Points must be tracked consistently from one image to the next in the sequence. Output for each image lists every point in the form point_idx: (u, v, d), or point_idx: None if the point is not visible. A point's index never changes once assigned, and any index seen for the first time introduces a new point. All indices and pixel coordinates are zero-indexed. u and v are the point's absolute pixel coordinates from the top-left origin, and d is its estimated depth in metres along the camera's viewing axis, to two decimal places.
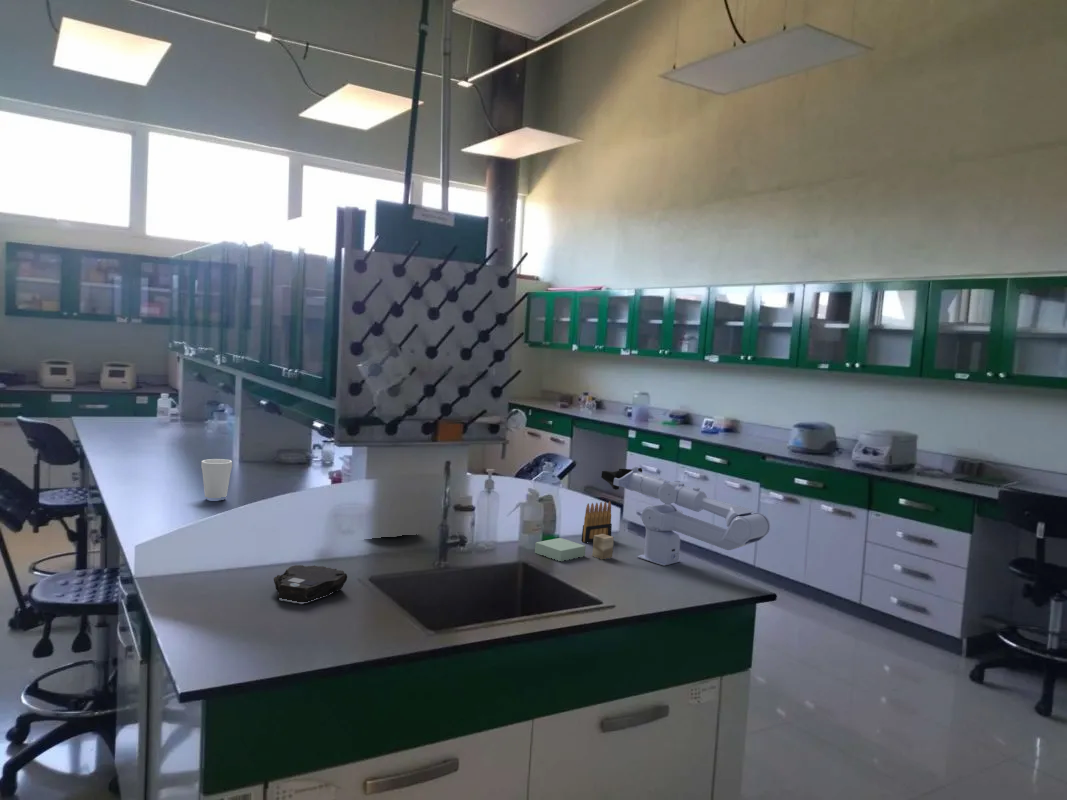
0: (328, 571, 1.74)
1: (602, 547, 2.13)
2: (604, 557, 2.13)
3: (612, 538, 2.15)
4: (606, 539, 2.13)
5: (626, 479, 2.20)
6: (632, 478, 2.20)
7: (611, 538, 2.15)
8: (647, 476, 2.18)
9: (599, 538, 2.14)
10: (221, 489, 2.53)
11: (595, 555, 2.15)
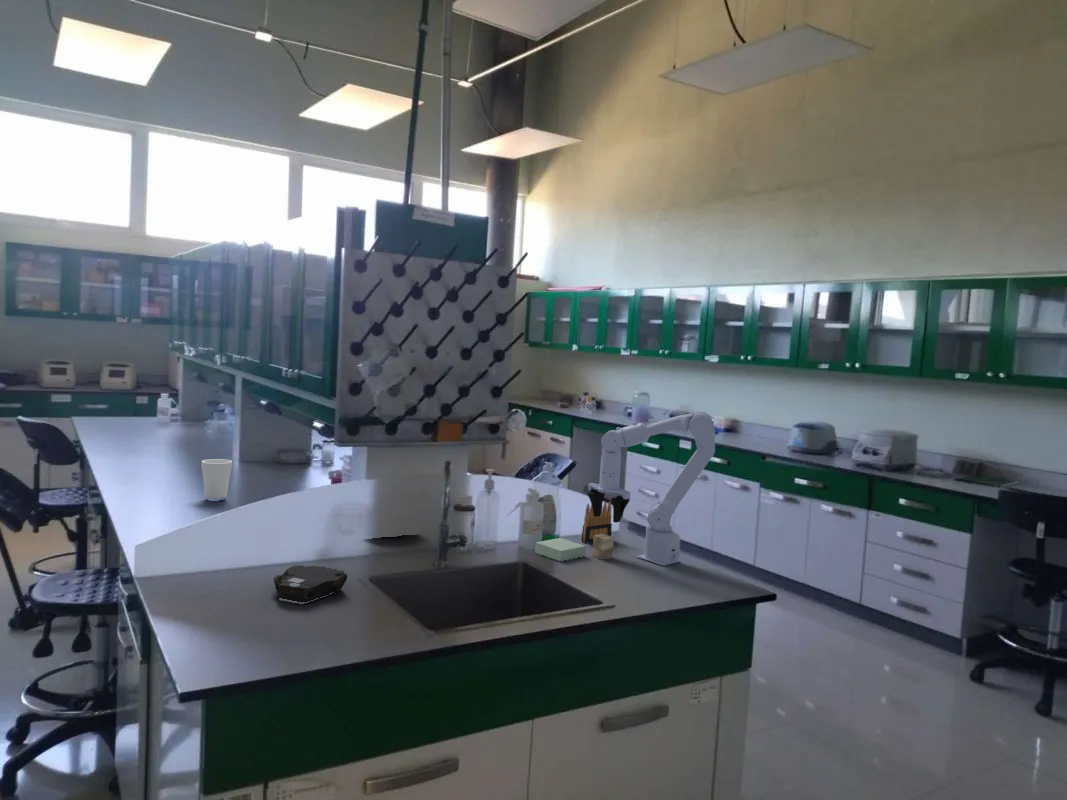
0: (328, 571, 1.74)
1: (602, 547, 2.13)
2: (604, 557, 2.13)
3: (612, 538, 2.15)
4: (606, 539, 2.13)
5: (616, 491, 2.16)
6: (613, 486, 2.16)
7: (611, 538, 2.15)
8: (600, 469, 2.18)
9: (599, 538, 2.14)
10: (221, 489, 2.53)
11: (595, 555, 2.15)
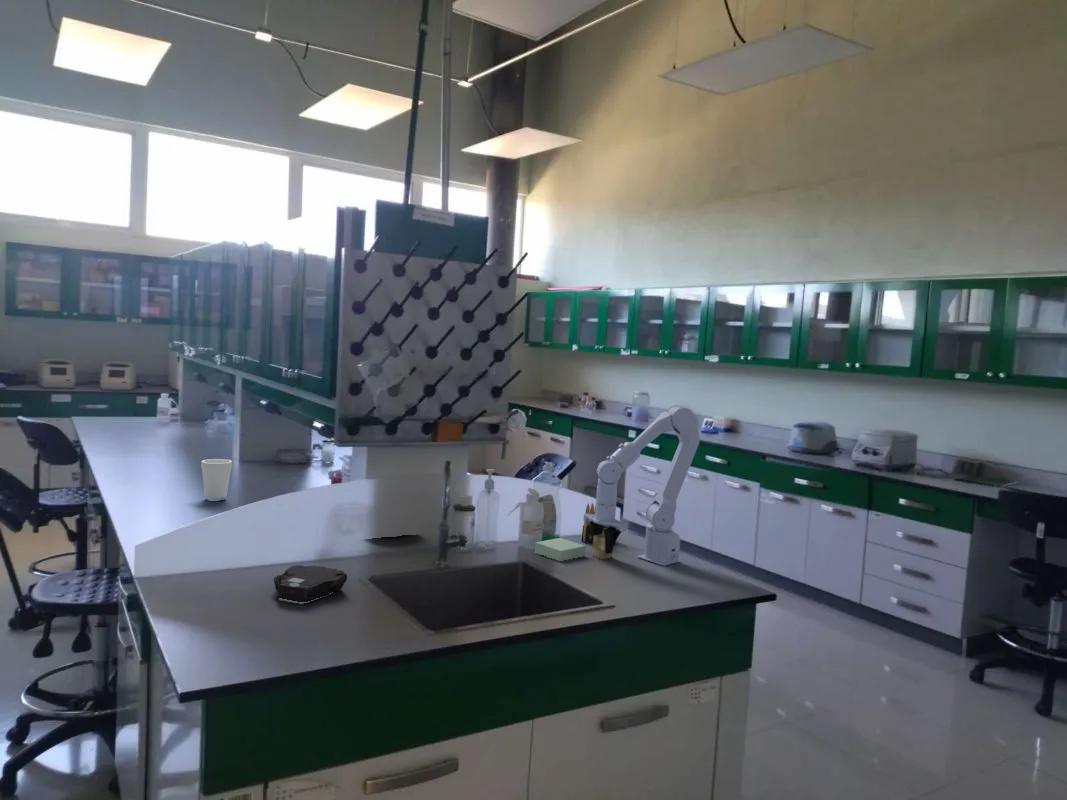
0: (328, 571, 1.74)
1: (602, 547, 2.13)
2: (604, 557, 2.13)
3: None
4: None
5: (612, 523, 2.12)
6: (609, 517, 2.12)
7: None
8: (597, 501, 2.13)
9: (599, 538, 2.14)
10: (221, 489, 2.53)
11: (595, 555, 2.15)
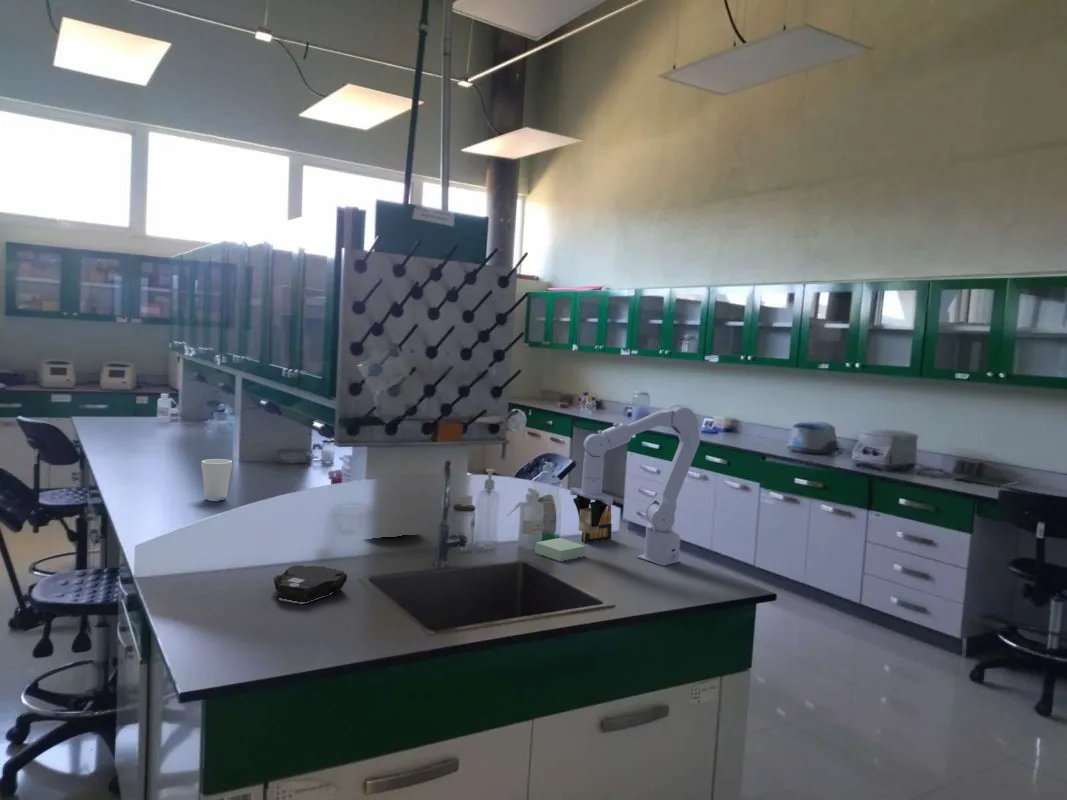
0: (328, 572, 1.74)
1: (588, 520, 2.12)
2: (590, 531, 2.13)
3: None
4: None
5: (598, 496, 2.12)
6: (595, 491, 2.12)
7: None
8: (584, 474, 2.13)
9: (585, 511, 2.13)
10: (221, 489, 2.53)
11: (581, 529, 2.14)
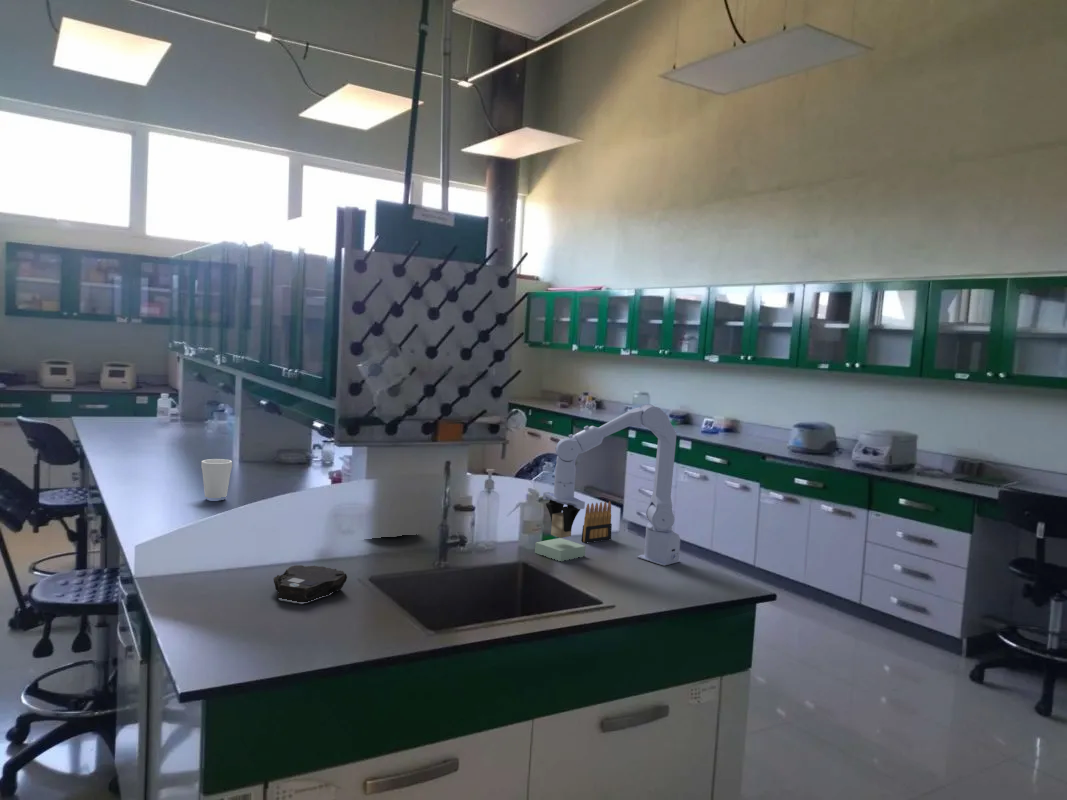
0: (328, 572, 1.74)
1: (560, 525, 2.12)
2: (562, 535, 2.12)
3: None
4: None
5: (570, 501, 2.11)
6: (567, 495, 2.11)
7: None
8: (555, 479, 2.13)
9: (557, 516, 2.13)
10: (221, 489, 2.53)
11: (554, 533, 2.14)
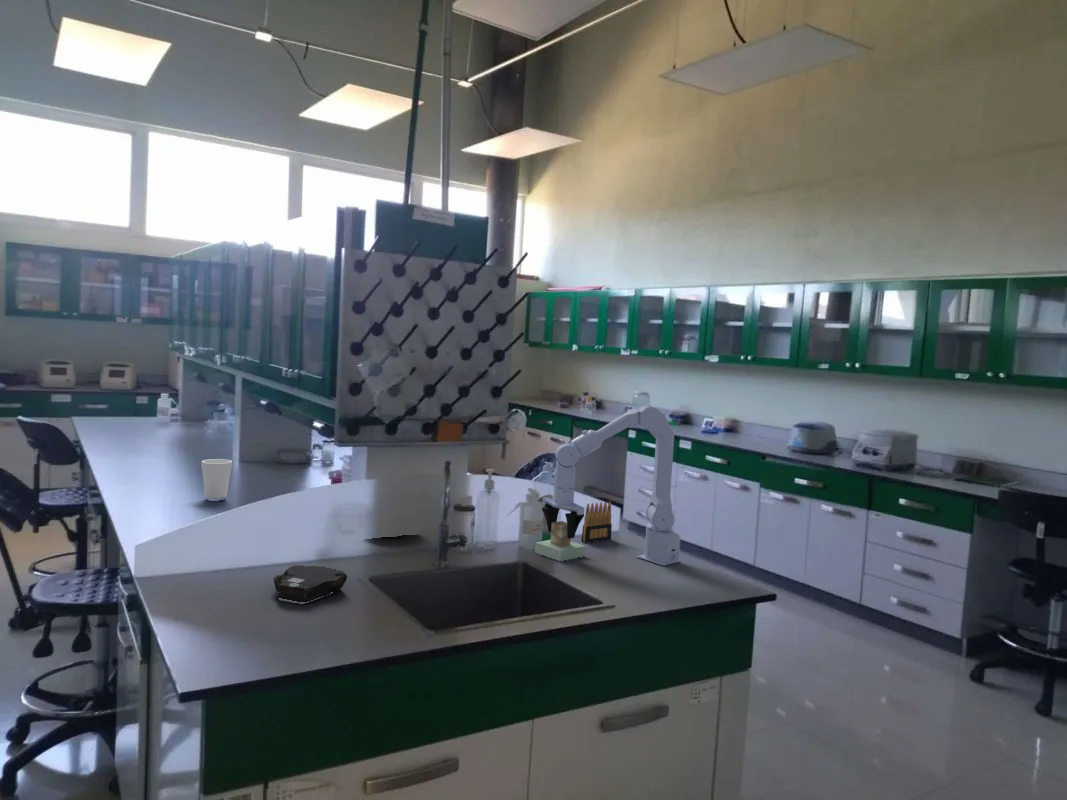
0: (328, 571, 1.74)
1: (560, 534, 2.12)
2: (562, 544, 2.13)
3: None
4: (564, 526, 2.13)
5: None
6: (567, 501, 2.11)
7: None
8: (555, 484, 2.13)
9: (557, 525, 2.13)
10: (221, 489, 2.53)
11: (553, 542, 2.14)
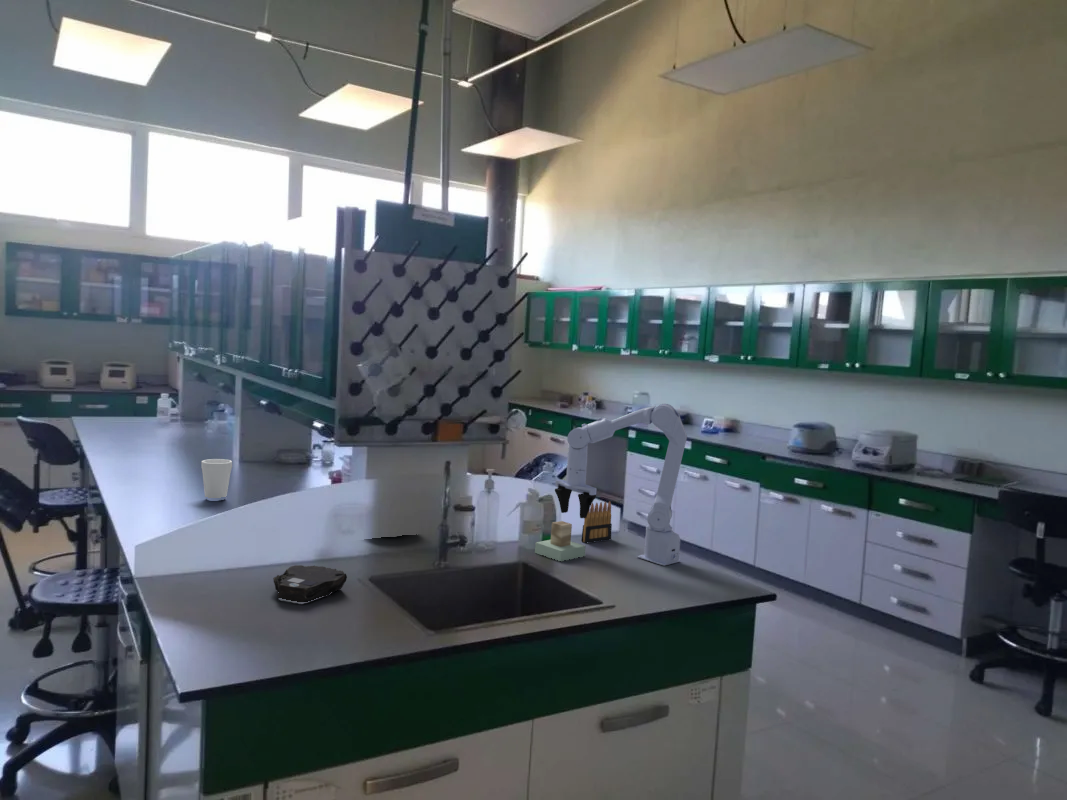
0: (327, 572, 1.74)
1: (560, 534, 2.12)
2: (562, 544, 2.13)
3: (570, 525, 2.14)
4: (564, 526, 2.13)
5: None
6: (579, 482, 2.19)
7: (569, 525, 2.14)
8: (567, 465, 2.21)
9: (557, 525, 2.13)
10: (221, 489, 2.53)
11: (553, 542, 2.14)
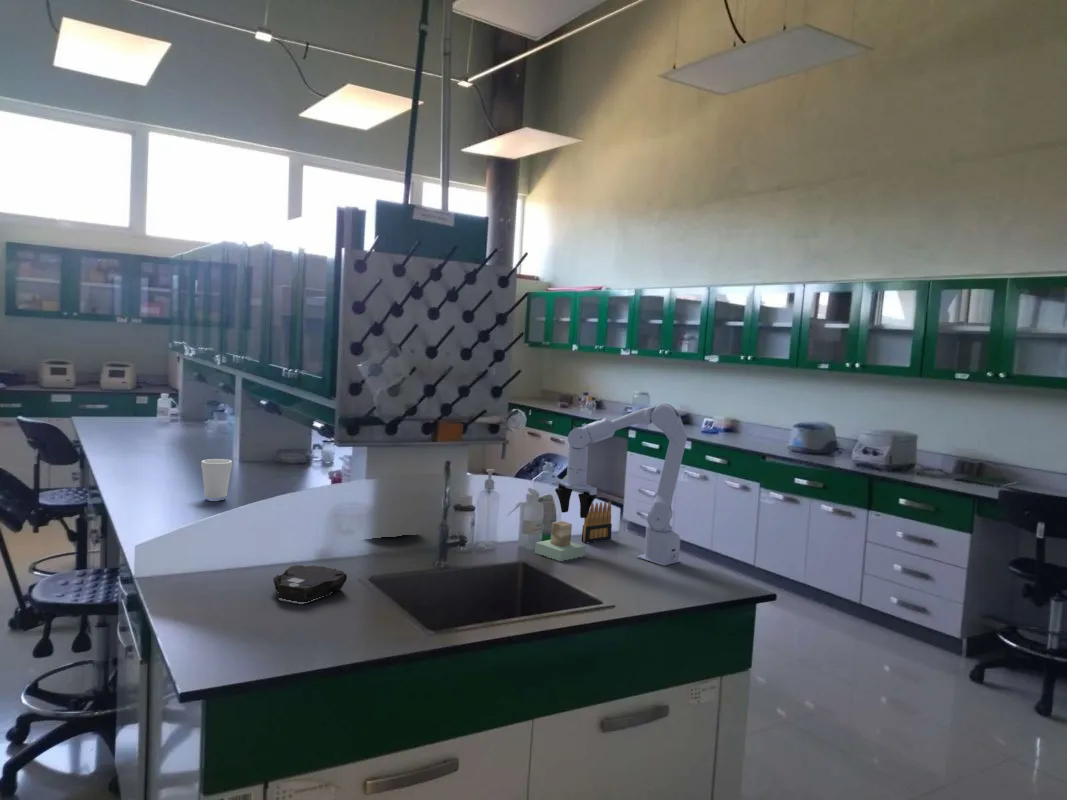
0: (327, 571, 1.74)
1: (560, 534, 2.12)
2: (562, 544, 2.13)
3: (570, 525, 2.14)
4: (564, 526, 2.13)
5: (583, 487, 2.19)
6: (580, 482, 2.19)
7: (569, 525, 2.14)
8: None
9: (557, 525, 2.13)
10: (221, 489, 2.53)
11: (553, 542, 2.14)
